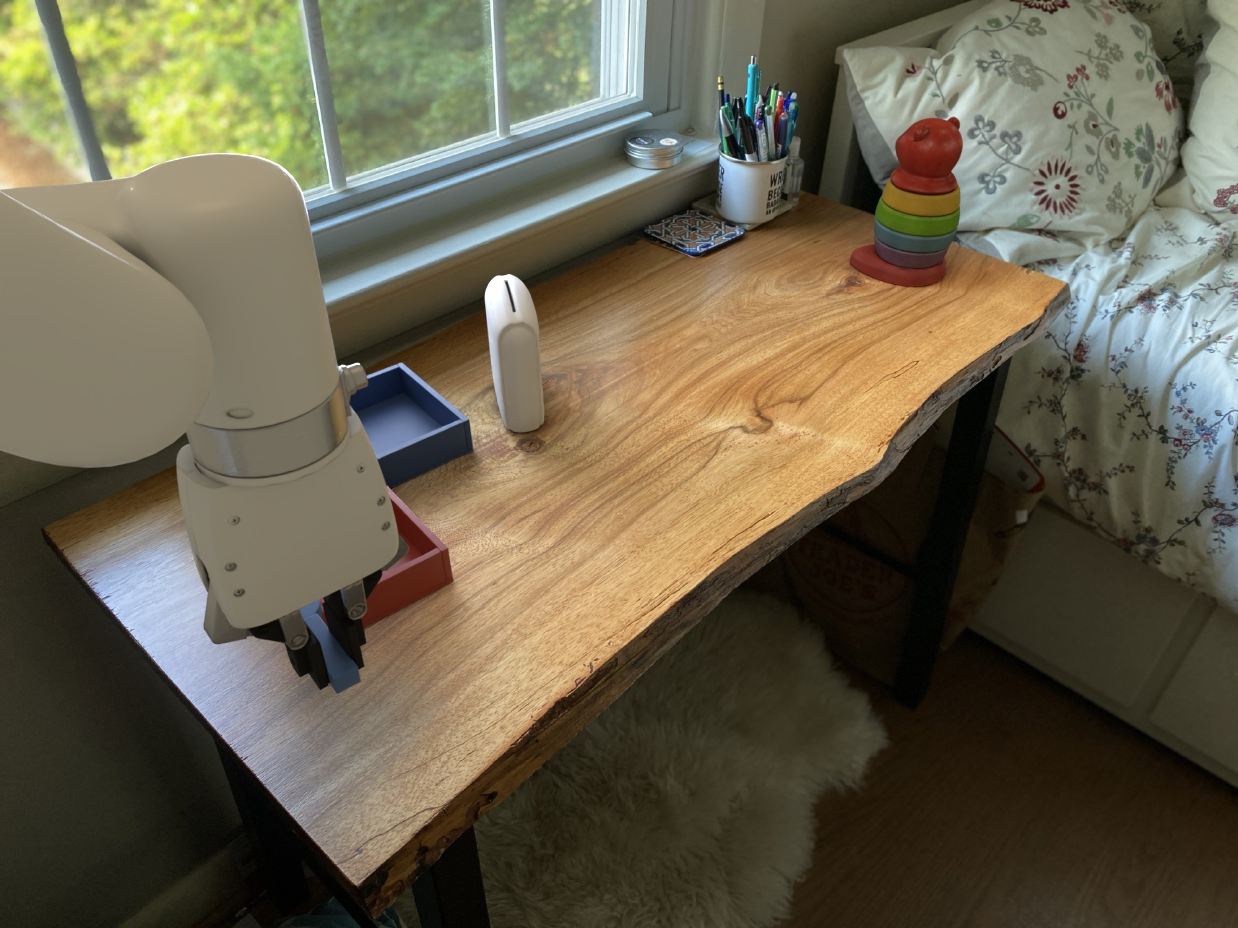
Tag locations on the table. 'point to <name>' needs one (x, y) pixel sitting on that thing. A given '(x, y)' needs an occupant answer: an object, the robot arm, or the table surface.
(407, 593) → the red bin
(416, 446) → the blue bin
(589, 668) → the table surface
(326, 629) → the blue spoon
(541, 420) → the photo printer
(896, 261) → the stacking bear
